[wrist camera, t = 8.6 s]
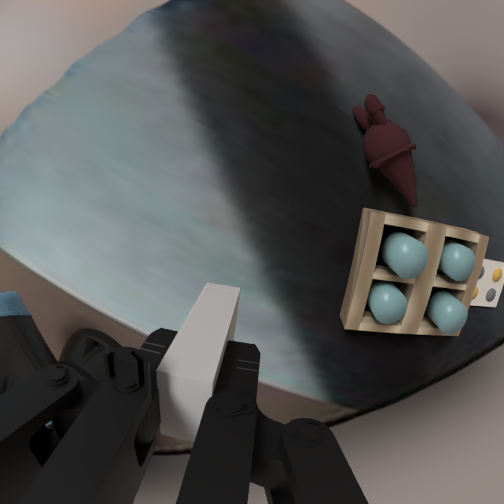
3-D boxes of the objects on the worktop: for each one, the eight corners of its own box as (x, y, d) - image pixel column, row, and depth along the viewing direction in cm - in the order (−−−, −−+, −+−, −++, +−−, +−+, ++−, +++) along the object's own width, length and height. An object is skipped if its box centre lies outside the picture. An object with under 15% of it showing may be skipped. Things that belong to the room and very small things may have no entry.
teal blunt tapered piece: (430, 268, 39) (445, 279, 34) (438, 237, 38) (454, 245, 33) (454, 272, 39) (469, 282, 34) (462, 242, 37) (478, 250, 33)
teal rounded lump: (361, 307, 41) (369, 322, 37) (369, 276, 40) (379, 289, 36) (390, 310, 41) (401, 325, 37) (399, 280, 40) (411, 293, 35)
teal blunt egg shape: (377, 264, 37) (389, 276, 33) (385, 229, 36) (398, 236, 32) (408, 269, 37) (422, 281, 33) (416, 234, 36) (432, 243, 31)
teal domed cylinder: (422, 319, 39) (435, 334, 34) (432, 289, 38) (446, 302, 33) (446, 320, 39) (460, 335, 34) (456, 291, 37) (471, 304, 33)
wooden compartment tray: (339, 315, 43) (344, 328, 39) (362, 207, 38) (371, 211, 35) (447, 324, 42) (458, 335, 38) (474, 231, 37) (488, 237, 34)
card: (455, 302, 41) (457, 304, 40) (469, 255, 38) (471, 257, 38) (493, 305, 40) (496, 307, 39) (507, 263, 38) (509, 264, 37)
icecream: (450, 193, 31) (394, 82, 29) (411, 219, 30) (349, 97, 29) (419, 197, 38) (370, 102, 36) (382, 220, 37) (329, 118, 36)
